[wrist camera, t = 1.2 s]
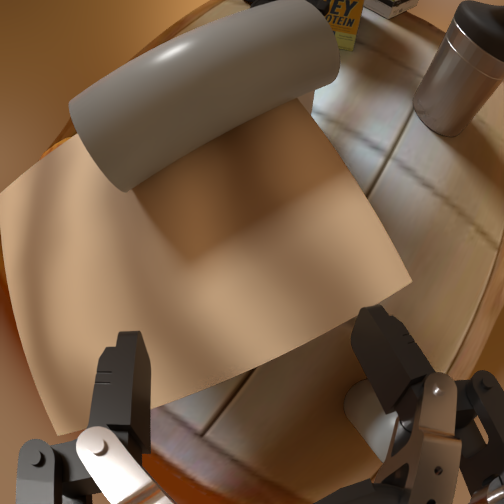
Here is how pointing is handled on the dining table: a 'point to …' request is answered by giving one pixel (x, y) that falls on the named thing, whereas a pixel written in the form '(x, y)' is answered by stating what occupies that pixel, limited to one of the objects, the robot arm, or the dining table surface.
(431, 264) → the dining table surface
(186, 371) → the wooden shelf stand
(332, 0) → the protein box
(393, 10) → the tea box
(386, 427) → the grey rounded cylinder
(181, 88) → the grey lying cylinder
